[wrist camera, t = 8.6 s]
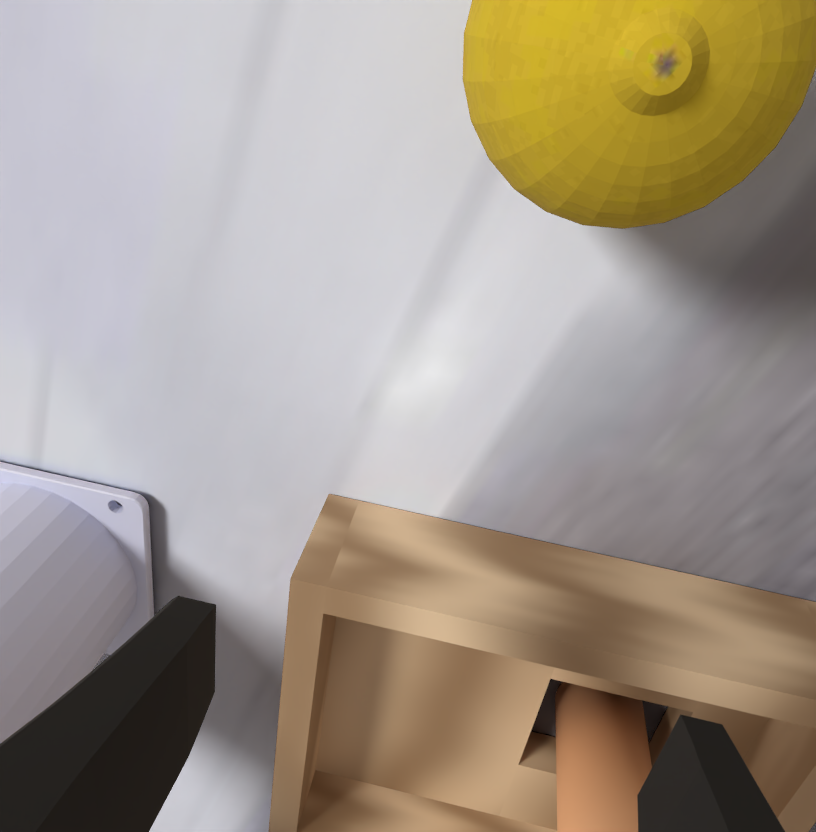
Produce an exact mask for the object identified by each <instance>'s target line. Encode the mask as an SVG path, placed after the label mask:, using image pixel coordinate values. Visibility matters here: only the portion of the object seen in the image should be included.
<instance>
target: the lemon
mask: <svg viewBox="0 0 816 832" xmlns="http://www.w3.org/2000/svg"><path fill="white" fill-rule="evenodd" d="M815 69H816V0H472V4H471V8H470V12H469V16H468V20H467V24H466V28H465V32H464V55H463V82H464V87H465V92H466V97H467V103H468V108H469V113H470V118H471V122H472V124H473V126H474V128H475V130H476V132H477V134H478V137H479V139H480V141H481V143H482V145H483V147H484V149H485V151H486V153H487V156H488V158H489V159H490V161H491V162H492V163H493V164H494V165H495V167H496V168H497V169H498V170H499V171H500V173H501V174H502V175H503V176H504V177H505V179H506V180H507V181H508V182H509V183H510V185H511V186H512V187H513V188H514V189H515V190H516V191H518V192H519V193H521V194H522V195H523V196H525V197H526V198H528V199H529V200H530V201H532V202H533V203H535V204H536V205H538V206H539V207H540V208H542V209H543V210H545V211H546V212H549V213H551V214H554V215H557V216H560V217H562V218H565V219H568V220H571V221H573V222H576V223H579V224H582V225H589V226H600V227H611V228H621V229H623V228H631V227H638V226H645V225H651V224H658V223H665V222H667V221H670V220H672V219H675V218H677V217H680V216H682V215H685V214H687V213H690V212H692V211H695V210H698V209H700V208H703V207H705V206H706V205H708V204H709V203H711V202H712V201H714V200H715V199H717V198H718V197H719V196H721V195H722V194H724V193H725V192H727V191H728V190H730V189H731V188H733V187H734V186H736V185H737V184H739V183H740V182H742V181H743V180H744V179H745V178H746V177H747V176H748V175H749V174H750V173H751V172H752V171H753V170H754V169H755V168H756V167H757V166H758V165H759V164H760V163H761V162H762V161H763V160H764V159H765V157H766V156H767V155H768V154H769V153H770V152H771V151H772V150H773V149H774V148H775V147H776V146H777V144H778V143H779V141H780V140H781V138H782V136H783V135H784V133H785V132H786V130H787V129H788V127H789V125H790V124H791V122H792V121H793V119H794V117H795V116H796V114H797V113H798V111H799V110H800V108H801V106H802V104H803V102H804V99H805V96H806V93H807V91H808V88H809V85H810V82H811V80H812V77H813V74H814V71H815Z"/></svg>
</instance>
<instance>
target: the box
mask: <svg viewBox="0 0 816 832" xmlns="http://www.w3.org/2000/svg"><path fill="white" fill-rule="evenodd" d="M550 679H554V680H558V681H562V682H566V683H571V684H575V685H579V686H583V687H588V688H592V689H596V690H600V691H605V692H609V693H613V694H617V695H622V696H626V697H630V698H634V699H639V700H643V701H647V702H651V703H656V704H660V705H664V706H668V708H667V710H666V712H665V714H664V716H663V718H662V720H661V722H660V724H659V726H658V728H657V729H656V731H655V733H654V735H653V737H652V739H651V741H650V743H649V750H650V757H651V764H652V767H653V765H654V763H655V761H656V760H657V758H658V756H659V754H660V752H661V750H662V748H663V746H664V745H665V743H666V741H667V739H668V737H669V735H670V733H671V731H672V730H673V728H674V726H675V724H676V722H677V720H678V718H679V716H680V715H685V716H689V717H694V718H698V719H702V720H706V721H710V722H715V723H719V724H722V725H723V727H724V728H725V730H726V731H727V733H728V735H729V737H730V738H731V740H732V742H733V743H734V745H735V747H736V748H737V750H738V752H739V754H740V755H741V757H742V759H743V760H744V762H745V764H746V766H747V767H748V769H749V771H750V773H751V774H752V776H753V778H754V779H755V781H756V783H757V785H758V786H759V788H760V790H761V791H762V793H763V795H764V797H765V798H766V800H767V802H768V803H769V805H770V807H771V808H772V810H773V812H774V814H775V815H776V817H777V819H778V820H779V822H780V824H781V825H782V827H783V829H784V830H785V832H808V831H809V830H810V829H811V827H812V826H813V825H814V824H815V822H816V602H813V601H809V600H804V599H800V598H795V597H791V596H786V595H782V594H777V593H773V592H768V591H764V590H759V589H755V588H750V587H746V586H741V585H737V584H732V583H728V582H723V581H719V580H714V579H710V578H705V577H701V576H696V575H692V574H687V573H683V572H678V571H674V570H669V569H665V568H660V567H656V566H651V565H647V564H642V563H638V562H633V561H629V560H624V559H620V558H615V557H611V556H606V555H602V554H597V553H593V552H588V551H584V550H579V549H575V548H570V547H566V546H561V545H557V544H552V543H548V542H543V541H539V540H534V539H530V538H525V537H521V536H516V535H512V534H507V533H503V532H498V531H494V530H489V529H485V528H480V527H476V526H471V525H467V524H462V523H458V522H453V521H449V520H444V519H440V518H435V517H431V516H426V515H422V514H417V513H413V512H408V511H404V510H399V509H395V508H390V507H386V506H381V505H377V504H372V503H368V502H363V501H359V500H354V499H350V498H345V497H341V496H336V495H332V494H329V495H328V497H327V499H326V501H325V504H324V506H323V508H322V510H321V512H320V515H319V517H318V519H317V521H316V524H315V526H314V528H313V530H312V532H311V535H310V537H309V539H308V541H307V543H306V546H305V548H304V550H303V552H302V554H301V557H300V559H299V561H298V563H297V566H296V568H295V570H294V572H293V574H292V577H291V580H290V592H289V603H288V615H287V626H286V638H285V649H284V661H283V672H282V684H281V695H280V707H279V718H278V730H277V741H276V753H275V764H274V776H273V787H272V799H271V810H270V822H269V832H557V781H556V737H552V736H548V735H544V734H540V733H536V732H531V730H532V727H533V724H534V722H535V719H536V716H537V714H538V711H539V708H540V706H541V703H542V700H543V698H544V695H545V692H546V690H547V687H548V684H549V682H550Z"/></svg>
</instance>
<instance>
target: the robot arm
mask: <svg viewBox="0 0 816 832" xmlns="http://www.w3.org/2000/svg"><path fill="white" fill-rule="evenodd" d="M115 501H117V502H119V503H120V504H121V505H122V506H120V505H118V504H117V503H116V502H115ZM215 627H216V605H214V604H210V603H206V602H202V601H197V600H193V599H189V598H185V597H180V596H178V597H176V598H174V599H172V600H171V601H170V602H169V603H168V604H167V605H166V606H165V607H163V608H162V609H161V610H160V611H159V612H158V613H157V614H156V615H155V616H154V603H153V582H152V560H151V539H150V517H149V505H148V502H147V501H146V499H145V498H144V497H143V496H141V495H140V494H138V493H135V492H131V491H127V490H122V489H118V488H114V487H109V486H105V485H100V484H96V483H92V482H87V481H83V480H78V479H74V478H69V477H65V476H61V475H56V474H52V473H47V472H43V471H39V470H34V469H30V468H25V467H21V466H16V465H12V464H8V463H3V462H0V832H149V830H150V828H151V826H152V825H153V823H154V821H155V819H156V817H157V815H158V813H159V811H160V810H161V808H162V806H163V804H164V802H165V800H166V798H167V796H168V794H169V793H170V791H171V789H172V787H173V785H174V783H175V781H176V779H177V777H178V776H179V774H180V772H181V770H182V768H183V766H184V764H185V762H186V760H187V758H188V756H189V754H190V752H191V749H192V747H193V744H194V742H195V739H196V737H197V735H198V732H199V730H200V727H201V725H202V722H203V720H204V717H205V715H206V712H207V710H208V707H209V705H210V702H211V700H212V697H213V695H214V692H215ZM103 654H108V655H110V656H109V657H108V658H107V659H106V660H104V661H103V662H102V663H101V664H100V665H99V666H97V667H96V668H95V669H94V667H95V666H96V664H97V663H98V661H99V660H100V659H101V657H102V656H103ZM93 669H94V670H93ZM637 800H638V832H785V830H784V829H783V827H782V825H781V824H780V822H779V820H778V819H777V817H776V815H775V814H774V812H773V810H772V808H771V807H770V805H769V803H768V802H767V800H766V798H765V797H764V795H763V793H762V791H761V790H760V788H759V786H758V785H757V783H756V781H755V779H754V778H753V776H752V774H751V773H750V771H749V769H748V767H747V766H746V764H745V762H744V760H743V759H742V757H741V755H740V754H739V752H738V750H737V748H736V747H735V745H734V743H733V742H732V740H731V738H730V737H729V735H728V733H727V731H726V730H725V728H724V727H723V725H722V724H719V723H715V722H710V721H706V720H702V719H698V718H694V717H689V716H685V715H680V716H679V718H678V720H677V722H676V724H675V726H674V728H673V730H672V731H671V733H670V735H669V737H668V739H667V741H666V743H665V745H664V746H663V748H662V750H661V752H660V754H659V756H658V758H657V760H656V761H655V763H654V765H653V767H652V769H651V771H650V773H649V775H648V776H647V778H646V780H645V782H644V784H643V786H642V788H641V790H640V791H639V793H638V795H637Z"/></svg>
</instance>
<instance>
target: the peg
mask: <svg viewBox="0 0 816 832" xmlns="http://www.w3.org/2000/svg"><path fill="white" fill-rule="evenodd" d="M555 718H556V781H557V832H638V800H637V795H638V793H639V791H640V790H641V788H642V786H643V784H644V782H645V780H646V778H647V776H648V775H649V773H650V771H651V769H652V764H651V757H650V750H649V744H648V737H647V730H646V723H645V716H644V709H643V702H642V700H639V699H634V698H630V697H626V696H622V695H617V694H613V693H609V692H605V691H600V690H596V689H592V688H588V687H583V686H579V685H575V684H571V683H566V682H563V683H562V684H561V685H560V686H559V687H558V689H557V691H556V695H555Z"/></svg>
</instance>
